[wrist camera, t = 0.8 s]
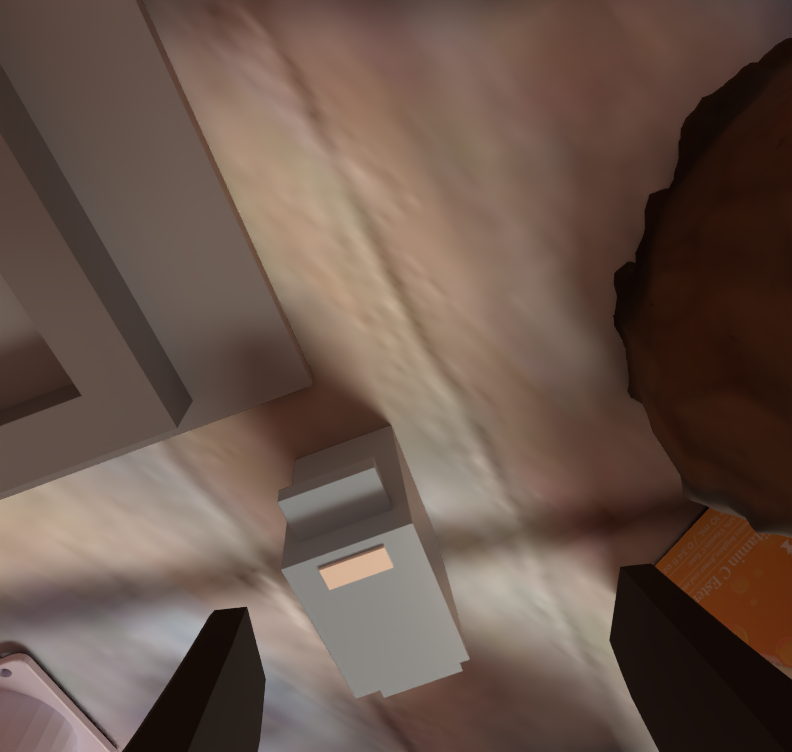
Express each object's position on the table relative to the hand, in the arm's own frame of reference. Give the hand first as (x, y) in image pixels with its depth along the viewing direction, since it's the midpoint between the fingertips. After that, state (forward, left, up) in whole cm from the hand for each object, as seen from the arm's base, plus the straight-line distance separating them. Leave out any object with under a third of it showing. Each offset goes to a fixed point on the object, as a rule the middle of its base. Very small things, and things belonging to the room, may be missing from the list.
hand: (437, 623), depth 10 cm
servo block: (-2, -4, -11) cm, 12 cm away
